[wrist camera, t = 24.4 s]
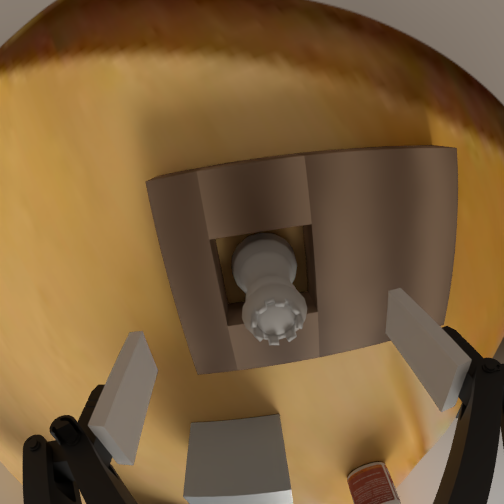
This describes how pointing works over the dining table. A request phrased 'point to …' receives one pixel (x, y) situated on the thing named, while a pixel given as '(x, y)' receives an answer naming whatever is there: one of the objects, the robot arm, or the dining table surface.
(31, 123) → the dining table surface
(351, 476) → the pill bottle
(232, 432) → the block
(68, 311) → the dining table surface
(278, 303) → the rook chess piece
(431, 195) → the socket board
